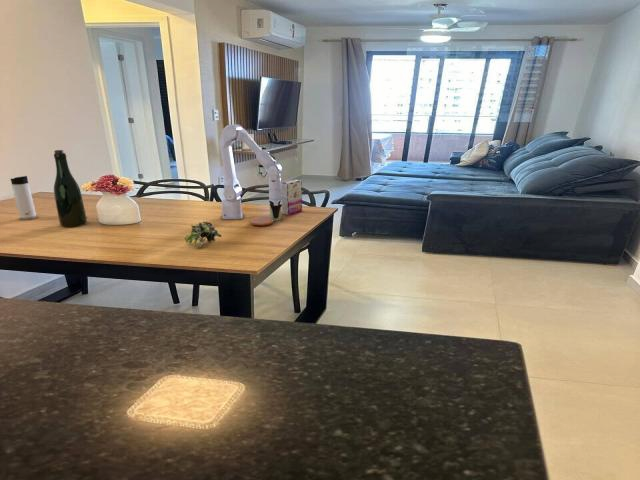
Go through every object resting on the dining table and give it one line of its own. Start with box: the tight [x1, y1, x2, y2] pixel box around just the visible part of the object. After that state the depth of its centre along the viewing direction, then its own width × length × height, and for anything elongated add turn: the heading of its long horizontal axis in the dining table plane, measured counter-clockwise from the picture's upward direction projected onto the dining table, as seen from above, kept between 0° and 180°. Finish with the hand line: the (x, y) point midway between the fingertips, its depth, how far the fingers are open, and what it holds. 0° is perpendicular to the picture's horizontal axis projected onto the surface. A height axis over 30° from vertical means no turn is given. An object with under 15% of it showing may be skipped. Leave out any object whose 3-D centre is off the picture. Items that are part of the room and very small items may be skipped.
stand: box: [248, 216, 274, 227], centre depth 178 cm, size 11×11×2 cm
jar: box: [269, 206, 282, 222], centre depth 185 cm, size 5×5×6 cm
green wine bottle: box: [53, 149, 88, 228], centre depth 167 cm, size 10×10×33 cm
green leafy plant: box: [184, 220, 222, 249], centre depth 148 cm, size 11×11×12 cm
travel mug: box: [10, 175, 38, 221], centre depth 177 cm, size 6×7×20 cm
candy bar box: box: [281, 179, 303, 216], centre depth 196 cm, size 11×5×16 cm, turn 143°
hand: (275, 216), depth 185 cm, fingers closed on jar, 5 cm apart
